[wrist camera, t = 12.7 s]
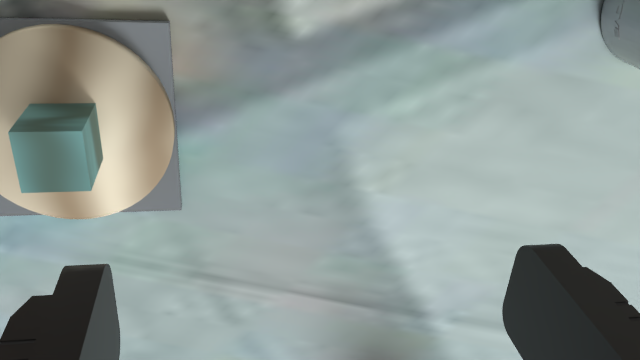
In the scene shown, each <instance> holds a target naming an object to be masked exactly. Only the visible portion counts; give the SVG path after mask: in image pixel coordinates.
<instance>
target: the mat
mask: <svg viewBox="0 0 640 360" xmlns="http://www.w3.org/2000/svg"><path fill="white" fill-rule="evenodd" d="M40 24H65V25H73V26H78V27H83V28H87V29H90V30H93V31H96V32H100V33H102V34H104V35H106V36H108V37H111V38H113V39H115V40H116V41H118V42H120V43H121V44H123V45H125V46H126V47H128V48H129V49H130V50H132V51H133V52H134V53H136V54H137V55H138V56H139V57H140V58H141V59H142V60H143V61H144V62H145V63H146V64H147V65H148V66H149V67H150V68H151V69H152V71H153V72H154V73H155V74H156V76H157V77H158V78H159V80H160V82H161V83H162V85H163V87H164V88H165V91H166V93H167V95H168V97H169V100H170V103H171V106H172V110H173V115H174V122H175V137H174V144H173V151H172V156H171V159H170V162H169V165H168V167H167V169H166V171H165V173H164V175H163V177H162V178H161V180H160V181H159V183H158V184H157V185H156V186H155V187H154V188H153V190H152V191H151V192H150V193H149V194H148V195H146V196H145V197H144V198H143V199H141V200H140V201H139V202H137V203H135V204H134V205H132V206H131V207H128V208H126V209H124V210H122V211H120V212H137V211H167V210H181V208H182V203H181V188H180V173H179V158H178V143H177V128H176V112H175V97H174V82H173V67H172V52H171V36H170V21H149V20H98V19H48V18H0V37H2V36H4V35H6V34H8V33H10V32H12V31H15V30H18V29H21V28H24V27H29V26H34V25H40ZM18 215H43V214H39V213H36V212H33V211H30V210H28V209H26V208H23V207H21V206H19V205H17V204H15V203H13V202H11V201H10V200H8V199H6V198H4V197H3V196H2V195H0V216H18Z"/></svg>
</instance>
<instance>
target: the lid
mask: <svg viewBox="0 0 640 360" xmlns="http://www.w3.org/2000/svg"><path fill="white" fill-rule="evenodd" d="M174 137H175V122H174V115H173V110H172V106H171V103H170V100H169V97H168V95H167V93H166V91H165V88H164V87H163V85H162V83H161V82H160V80H159V78H158V77H157V76H156V74H155V73H154V72H153V71H152V69H151V68H150V67H149V66H148V65H147V64H146V63H145V62H144V61H143V60H142V59H141V58H140V57H139V56H138V55H137V54H136V53H134V52H133V51H132V50H130V49H129V48H128V47H126V46H125V45H123V44H121V43H120V42H118V41H116V40H115V39H113V38H111V37H108V36H106V35H104V34H102V33H100V32H96V31H93V30H90V29H87V28H83V27H78V26H73V25H65V24H40V25H34V26H29V27H24V28H21V29H18V30H15V31H12V32H10V33H8V34H6V35H4V36H2V37H0V195H2V196H3V197H4V198H6V199H8V200H10V201H11V202H13V203H15V204H17V205H19V206H21V207H23V208H26V209H28V210H30V211H33V212H36V213H39V214H43V215H47V216H52V217H57V218H65V219H90V218H98V217H103V216H108V215H111V214H114V213H117V212H120V211H122V210H124V209H126V208H128V207H131V206H132V205H134V204H135V203H137V202H139V201H140V200H141V199H143V198H144V197H145V196H146V195H148V194H149V193H150V192H151V191H152V190H153V188H154V187H155V186H156V185H157V184H158V183H159V181H160V180H161V178H162V177H163V175H164V173H165V171H166V169H167V167H168V165H169V162H170V159H171V156H172V151H173V144H174Z"/></svg>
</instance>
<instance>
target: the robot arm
mask: <svg viewBox="0 0 640 360" xmlns="http://www.w3.org/2000/svg"><path fill="white" fill-rule="evenodd" d="M601 30H602V34H603V38H604V41H605V43H606V45H607V47H608V49H609V50H610V51H611V52H612V53H613V54H614V55H615V56H616V57H617V58H619V59H620V60H622V61H624V62H626V63H628V64H630V65H632V66H634V67H636V68H638V69H640V0H604V3H603V8H602V14H601ZM503 322H504V326H505V329H506V331H507V334H508V336H509V337H510V339H511V340H512V342H513V344H514V345H515V347H516V349H517V350H518V352H519V353H520V355H521V357H522V358H523V360H640V313H639V312H638V311H637V310H636V309H635V308H634V307H633V306H632V305H629V304H628V300H627V299H626V298H625V297H624V296H623V295H622V294H621V293H620V292H619V291H618V290H617V289H616V288H615V287H614V285H613V284H612V283H611V282H609V281H608V280H606V279H604V278H603V277H601V276H600V275H598V274H597V273H595V272H593V271H592V270H590V269H589V268H587V267H582V266H581V265H580V264H579V263H578V261H577V260H576V259H575V258H574V257H573V256H572V255H571V254H570V253H569V251H568V250H567V249H566V248H565V247H564V246H562V245H560V244H545V245H524V246H522V247H520V249H519V250H518V252H517V254H516V257H515V261H514V265H513V269H512V272H511V276H510V280H509V284H508V287H507V291H506V295H505V299H504V302H503ZM119 355H120V328H119V320H118V314H117V307H116V300H115V293H114V286H113V279H112V273H111V268H110V266H109V264H96V265H74V266H65V267H64V268H63V269H62V272H61V274H60V277H59V280H58V282H57V285H56V288H55V290H54V293H53V295H44V296H32V297H31V298H30V299H29V300H28V301H27V302H26V303H25V304H24V305H23V306H21V307H20V308H19V309H18V310H17V311H16V312H15V313H14V314H13V315H12V316H11V317H10V319H9V321H8V323H7V326H6V328H5V330H4V332H3V334H2V337H1V339H0V360H119Z"/></svg>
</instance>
